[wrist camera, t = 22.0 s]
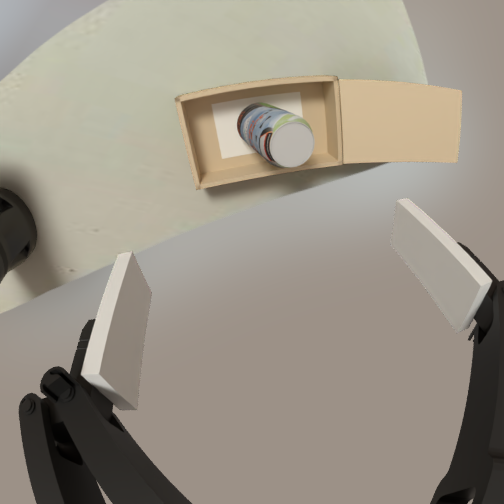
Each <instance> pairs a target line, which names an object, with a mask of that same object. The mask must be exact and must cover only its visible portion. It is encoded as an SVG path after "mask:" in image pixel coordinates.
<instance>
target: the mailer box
mask: <svg viewBox="0 0 504 504" xmlns="http://www.w3.org/2000/svg"><path fill="white" fill-rule="evenodd" d="M175 102H176V107H177V111H178V116H179V120H180V125H181V129H182V133H183V137H184V142H185V146H186V150H187V154H188V158H189V162H190V167H191V171H192V175H193V179H194V183H195V187H196V190H199V189H203V188H208V187H213V186H217V185H222V184H227V183H232V182H237V181H243V180H248V179H253V178H259V177H264V176H270V175H276V174H282V173H288V172H295V171H301V170H308V169H315V168H322V167H329V166H337V165H342V133H341V115H340V100H339V88H338V77H337V76H327V75H319V76H301V77H288V78H277V79H268V80H260V81H252V82H245V83H239V84H232V85H227V86H221V87H216V88H211V89H206V90H201V91H196V92H192V93H188V94H183V95H179V96H177V97H176V98H175ZM253 103H267V104H269V105H272V106H275V107H278V108H280V109H283V110H285V111H288V112H290V113H293V114H295V115H298V116H300V117H302V118H303V119H305V120H306V121H307V123H308V124H309V125H310V127H311V129H312V132H313V135H314V139H315V145H314V150H313V152H312V154H311V156H310V157H309V159H308V160H307V161H306V162H304V163H303V164H301V165H299V166H297V167H290V168H279V167H276V166H273V165H272V164H270V163H269V162H267V161H266V160H265V159H264V158H263V157H262V156H261V155H260V154H259V153H257V152H256V151H255V150H254V149H253V148H252V147H251V146H250V145H248V144H247V143H246V142H245V141H244V140H243V139H242V138H241V137H240V135H239V133H238V130H237V120H238V117H239V115H240V113H241V112H242V111H243V109H244V108H246V107H247V106H249V105H251V104H253Z"/></svg>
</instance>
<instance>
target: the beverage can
mask: <svg viewBox="0 0 504 504" xmlns="http://www.w3.org/2000/svg"><path fill="white" fill-rule="evenodd" d="M237 130H238V133H239V135H240V137H241V138H242V139H243V140H244V141H245V142H246V143H247V144H248V145H250V146H251V147H252V148H253V149H254V150H255V151H256V152H257V153H259V154H260V155H261V156H262V157H263V158H264V159H265V160H266V161H267V162H269V163H270V164H272V165H273V166H276V167H279V168H290V167H297V166H299V165H301V164H303V163H304V162H306V161H307V160H308V159H309V157H310V156H311V154H312V152H313V150H314V145H315V139H314V135H313V132H312V129H311V127H310V125H309V124H308V123H307V121H306V120H305V119H303V118H302V117H300V116H298V115H295V114H293V113H290V112H288V111H285V110H283V109H280V108H278V107H275V106H272V105H269V104H267V103H253V104H251V105H249V106H247V107H246V108H244V109H243V111H242V112H241V113H240V115H239V117H238V120H237Z"/></svg>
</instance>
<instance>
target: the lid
mask: <svg viewBox="0 0 504 504" xmlns="http://www.w3.org/2000/svg"><path fill="white" fill-rule="evenodd" d="M338 82H339V94H340V107H341V123H342V147H343V164H348V163H372V162H450V163H457V160H458V152H459V142H460V130H461V111H462V110H461V109H462V91H461V90H455V89H449V88H444V87H437V86H430V85H424V84H415V83H406V82H395V81H380V80H351V79H338Z"/></svg>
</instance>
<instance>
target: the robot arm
mask: <svg viewBox="0 0 504 504" xmlns="http://www.w3.org/2000/svg"><path fill="white" fill-rule="evenodd" d="M36 238H37V235H36V227H35V223H34V220H33V217H32V215H31V213H30V211H29V209H28V208H27V206H26V205H25V204H24V202H23V201H22V200H21V199H20V198H19V197H18V196H17V195H15V194H14V193H12V192H11V191H9V190H6V189H0V283H1V281H2V280H3V278H4V277H5V275H6V274H7V272H9V271H10V270H12V269H13V268H15V267H17V266H18V265H20V264H21V263H23V262H24V261H25V260H26V259H27V258H28V257H29V256H30V254H31V253H32V251H33V250H34V248H35V245H36ZM390 245H391V246H392V247H393V248H394V250H395V251H396V252H397V253H398V254H399V256H400V257H401V258H402V259H403V261H404V262H405V263H406V264H407V266H408V267H409V268H410V269H411V271H412V272H413V273H414V275H415V276H416V277H417V278H418V280H419V281H420V282H421V284H422V285H423V286H424V288H425V289H426V290H427V292H428V293H429V294H430V296H431V297H432V298H433V300H434V301H435V303H436V304H437V305H438V307H439V308H440V309H441V311H442V312H443V314H444V315H445V317H446V318H447V319H448V321H449V323H450V324H451V326H452V327H453V329H454V330H455V332H456V333H459V332H461V331H463V330H465V329H467V328H469V326H470V324H471V322H472V321H473V319H475V320H476V322H477V324H476V326H475V328H474V329H473V331H472V333H471V334H470V336H469V338H468V340H471V338H472V337H473V335H474V340H473V342H474V348H473V359H472V368H471V376H470V383H469V390H468V396H467V402H466V407H465V412H464V417H463V422H462V426H461V430H460V434H459V438H458V442H457V445H456V449H455V452H454V455H453V459H452V462H451V465H450V468H449V471H448V473H447V474H446V476H445V477H444V478H443V479H442V480H441V482H440V484H439V485H438V487H437V489H436V491H435V493H434V496H433V498H432V501H431V503H430V504H467V503H468V502H469V501H470V500H471V499H473V498H474V499H473V502H472V504H504V281H500V282H499V281H498V280H497V279H496V277H495V276H494V275H493V274H492V273H491V272H490V271H489V269H488V268H487V267H486V266H485V265H484V264H483V263H482V262H480V260H479V259H478V258H477V257H476V256H474V254H473V253H472V252H471V251H470V249H468V248H467V247H466V246H464V245H462V244H461V243H459V242H458V243H456V242H455V241H454V240H453V239H452V238H451V237H450V236H449V235H448V234H447V233H446V232H445V231H444V230H443V229H442V228H441V227H440V226H439V225H437V223H435V222H434V221H433V220H432V219H431V218H430V217H429V216H428V215H426V214H425V213H424V212H423V211H422V210H421V209H420V208H419V207H417V206H416V205H415V204H414V203H413V202H411V201H410V200H409V199H408V198H407V199H401V200H396V206H395V214H394V222H393V230H392V236H391V243H390ZM151 296H152V292H151V290H150V288H149V286H148V284H147V282H146V280H145V278H144V276H143V273H142V271H141V269H140V267H139V265H138V263H137V261H136V258H135V256H134V254H133V252H132V251H130V252H126V253H122V254H118V257H117V259H116V262H115V264H114V267H113V270H112V272H111V275H110V278H109V281H108V284H107V286H106V289H105V292H104V295H103V298H102V301H101V304H100V307H99V310H98V314H97V317H96V319H93V320H89V321H88V322H87V324H86V325H85V327H84V328H83V329H82V333H81V336H80V339H79V340H80V342H78V346H77V350H76V353H75V356H74V360H73V363H72V368H71V371H70V374H68V372H67V371H66V370H65V369H64V368H62V367H59V366H58V367H53V368H51V369H49V370H48V371H47V372H46V373H45V374H44V376H43V378H42V380H41V384H40V389H41V392H42V393H43V394H44V395H45V396H47V397H46V398H44V399H41V398H40V397H38V396H37V395H36V394H33V393H30V394H27V395H26V396H25V397H24V398H23V399H22V401H21V402H20V405H19V420H20V428H21V436H22V442H23V448H24V454H25V459H26V464H27V469H28V473H29V478H30V482H31V486H32V489H33V493H34V496H35V500H36V503H37V504H106V503H105V500H104V498H103V496H102V493H101V491H100V489H99V486H98V484H97V482H98V483H99V485H100V486H101V488H102V489H103V491H104V492H105V494H106V495H107V496H108V498H109V499H110V501H111V502H112V503H113V504H192V503H191V502H190V501H189V500H187V498H186V497H184V495H183V494H182V493H181V492H179V490H178V489H177V488H176V487H175V486H174V485H173V484H172V483H171V482H170V481H169V480H168V479H167V478H166V477H165V476H164V475H163V474H162V473H161V471H160V470H159V469H158V468H157V467H156V466H155V465H154V464H153V462H152V461H151V460H150V459H149V458H148V457H147V455H146V454H145V453H144V452H143V450H142V449H141V448H140V447H139V446H138V444H137V443H136V442H135V440H134V439H133V438H132V437H131V435H130V434H129V433H128V431H127V430H126V429H125V427H124V426H123V425H122V423H121V422H120V420H119V419H118V418H117V416H116V415H115V414H114V413H113V412H112V409H113V404H114V405H115V406H116V407H117V408H118V409H120V410H137V406H138V394H139V382H140V373H141V364H142V356H143V348H144V341H145V334H146V327H147V320H148V314H149V308H150V302H151ZM96 480H97V481H96Z"/></svg>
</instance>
